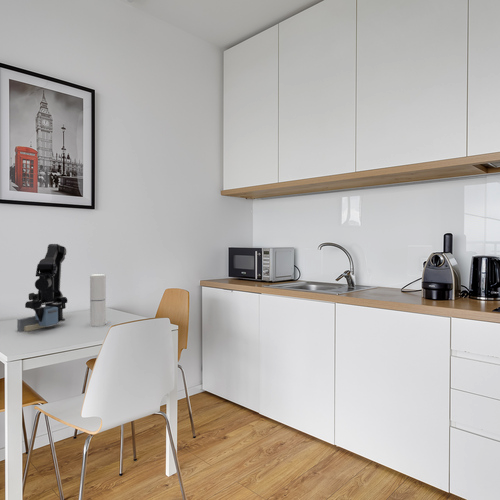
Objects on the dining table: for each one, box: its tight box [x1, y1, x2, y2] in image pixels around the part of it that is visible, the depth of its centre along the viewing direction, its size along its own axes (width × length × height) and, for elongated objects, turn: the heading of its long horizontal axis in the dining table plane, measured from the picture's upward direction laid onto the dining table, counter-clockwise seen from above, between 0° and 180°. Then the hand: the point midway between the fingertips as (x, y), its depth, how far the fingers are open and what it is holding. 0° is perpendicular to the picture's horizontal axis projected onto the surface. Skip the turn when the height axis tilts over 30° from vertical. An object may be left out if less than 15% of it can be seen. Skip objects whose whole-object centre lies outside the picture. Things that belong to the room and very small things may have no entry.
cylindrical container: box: [89, 273, 107, 327], centre depth 195 cm, size 7×7×25 cm
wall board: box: [16, 315, 58, 333], centre depth 189 cm, size 20×4×6 cm, turn 155°
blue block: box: [34, 305, 59, 327], centre depth 187 cm, size 6×8×8 cm
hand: (47, 320), depth 187 cm, fingers closed on blue block, 6 cm apart
